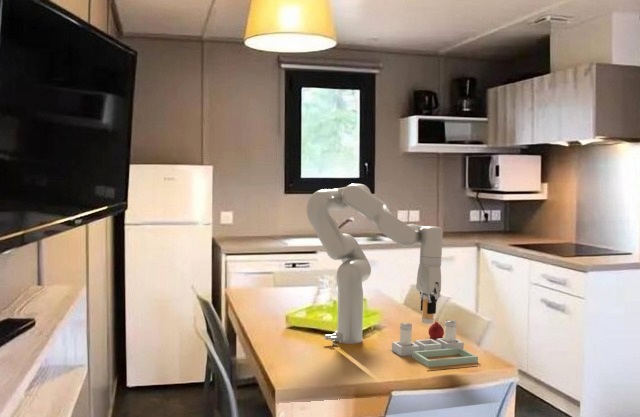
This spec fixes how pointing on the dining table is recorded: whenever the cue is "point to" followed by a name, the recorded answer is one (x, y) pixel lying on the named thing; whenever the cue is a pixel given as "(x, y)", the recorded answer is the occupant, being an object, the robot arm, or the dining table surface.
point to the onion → (436, 331)
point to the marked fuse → (426, 317)
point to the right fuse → (450, 331)
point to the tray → (465, 359)
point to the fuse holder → (424, 346)
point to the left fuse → (405, 334)
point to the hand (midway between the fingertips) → (428, 311)
